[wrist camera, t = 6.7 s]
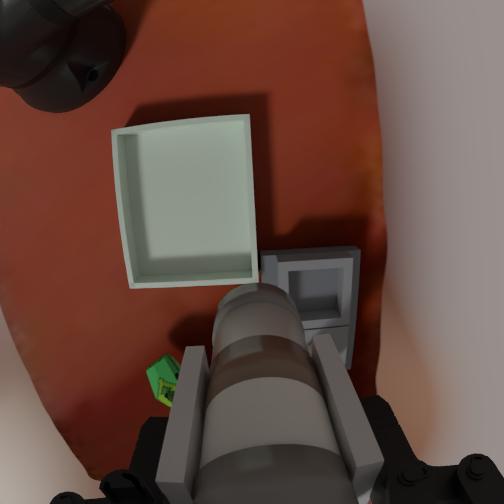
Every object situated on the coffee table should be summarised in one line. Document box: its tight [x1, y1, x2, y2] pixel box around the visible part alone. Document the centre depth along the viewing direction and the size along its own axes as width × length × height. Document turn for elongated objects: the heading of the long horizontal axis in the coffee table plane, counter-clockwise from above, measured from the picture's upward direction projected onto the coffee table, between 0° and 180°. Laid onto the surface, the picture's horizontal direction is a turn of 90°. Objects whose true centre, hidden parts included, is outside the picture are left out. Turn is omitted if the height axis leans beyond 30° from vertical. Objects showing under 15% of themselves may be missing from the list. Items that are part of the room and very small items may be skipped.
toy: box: [146, 353, 181, 407], centre depth 37 cm, size 6×16×10 cm, turn 39°
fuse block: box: [260, 245, 361, 370], centre depth 32 cm, size 16×11×14 cm
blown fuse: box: [193, 283, 359, 504], centre depth 11 cm, size 4×4×12 cm
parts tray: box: [111, 114, 259, 288], centre depth 33 cm, size 17×14×3 cm
